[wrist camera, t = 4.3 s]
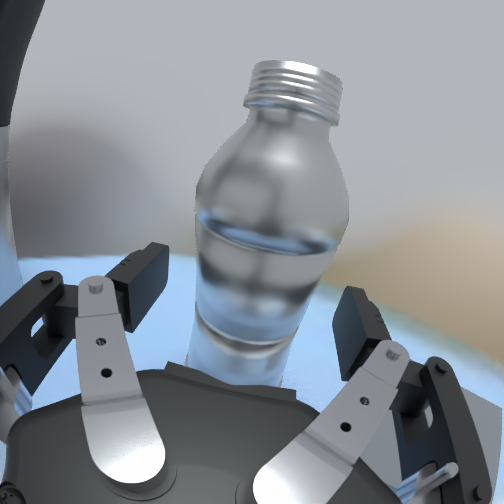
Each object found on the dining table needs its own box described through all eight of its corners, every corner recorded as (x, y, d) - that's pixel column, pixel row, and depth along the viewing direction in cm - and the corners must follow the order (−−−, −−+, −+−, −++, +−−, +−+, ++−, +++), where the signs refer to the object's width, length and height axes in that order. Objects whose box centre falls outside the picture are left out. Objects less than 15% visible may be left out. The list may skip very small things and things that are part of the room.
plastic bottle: (255, 367, 21) (324, 100, 13) (282, 436, 15) (415, 100, 7) (176, 371, 19) (207, 71, 11) (187, 448, 13) (239, 27, 5)
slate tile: (322, 461, 14) (331, 453, 13) (387, 360, 24) (393, 350, 23) (473, 526, 5) (487, 519, 4) (493, 417, 15) (501, 408, 14)
